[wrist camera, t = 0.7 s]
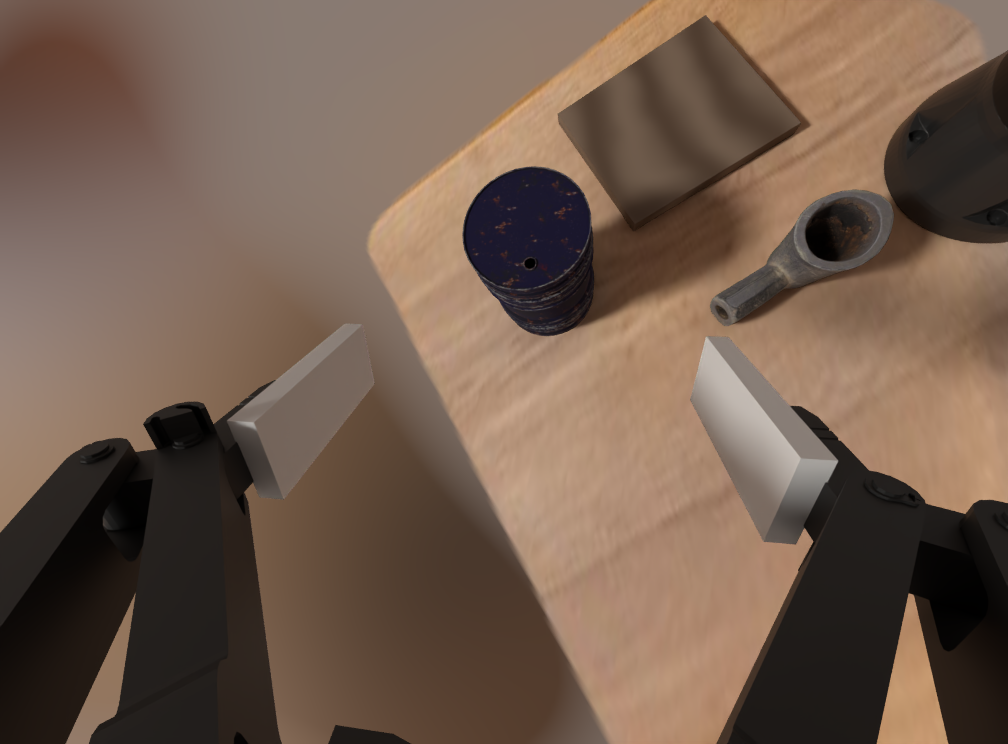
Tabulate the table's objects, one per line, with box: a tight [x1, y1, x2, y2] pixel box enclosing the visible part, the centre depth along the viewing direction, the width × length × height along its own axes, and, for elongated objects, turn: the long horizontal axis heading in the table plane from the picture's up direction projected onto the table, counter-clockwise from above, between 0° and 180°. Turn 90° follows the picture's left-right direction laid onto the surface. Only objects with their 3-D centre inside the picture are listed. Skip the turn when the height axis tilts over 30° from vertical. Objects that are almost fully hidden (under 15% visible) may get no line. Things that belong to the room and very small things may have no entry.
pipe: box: [710, 190, 894, 326], centre depth 35 cm, size 6×13×8 cm, turn 124°
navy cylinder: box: [463, 167, 594, 336], centre depth 37 cm, size 10×10×15 cm
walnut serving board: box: [558, 15, 801, 231], centre depth 43 cm, size 18×16×2 cm
